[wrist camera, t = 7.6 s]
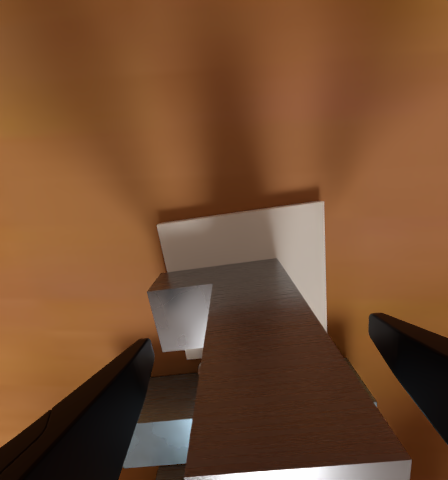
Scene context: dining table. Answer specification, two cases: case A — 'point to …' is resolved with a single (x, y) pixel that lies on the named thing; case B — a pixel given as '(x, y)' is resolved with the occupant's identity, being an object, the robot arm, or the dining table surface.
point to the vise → (170, 424)
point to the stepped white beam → (269, 382)
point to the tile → (255, 246)
